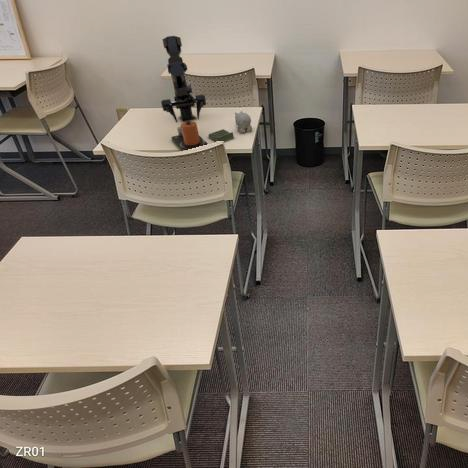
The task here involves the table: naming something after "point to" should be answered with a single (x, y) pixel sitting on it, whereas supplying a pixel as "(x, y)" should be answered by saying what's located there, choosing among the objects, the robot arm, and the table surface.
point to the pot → (190, 133)
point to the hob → (179, 139)
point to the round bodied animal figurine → (243, 122)
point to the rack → (221, 135)
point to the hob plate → (192, 145)
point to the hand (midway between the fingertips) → (187, 120)
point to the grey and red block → (179, 131)
